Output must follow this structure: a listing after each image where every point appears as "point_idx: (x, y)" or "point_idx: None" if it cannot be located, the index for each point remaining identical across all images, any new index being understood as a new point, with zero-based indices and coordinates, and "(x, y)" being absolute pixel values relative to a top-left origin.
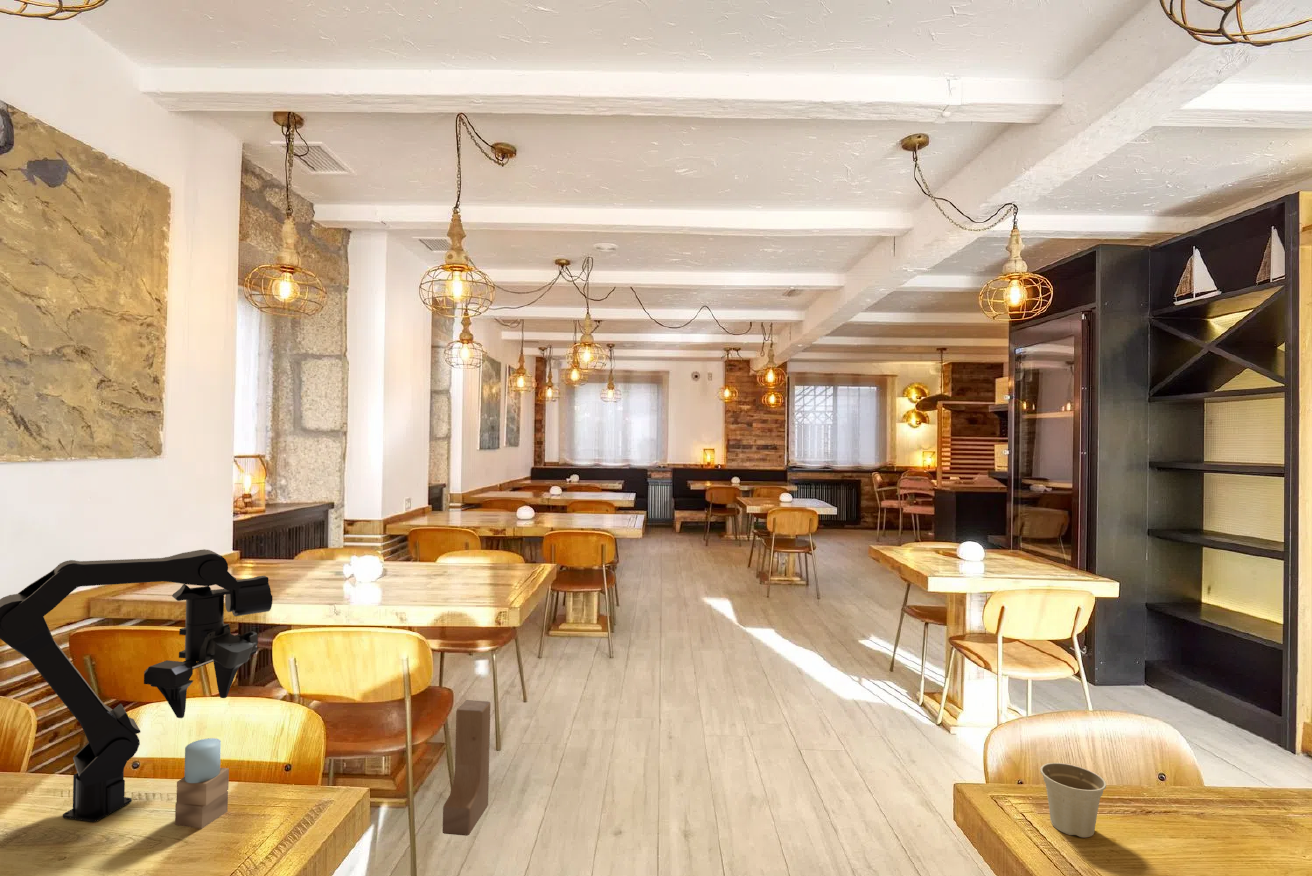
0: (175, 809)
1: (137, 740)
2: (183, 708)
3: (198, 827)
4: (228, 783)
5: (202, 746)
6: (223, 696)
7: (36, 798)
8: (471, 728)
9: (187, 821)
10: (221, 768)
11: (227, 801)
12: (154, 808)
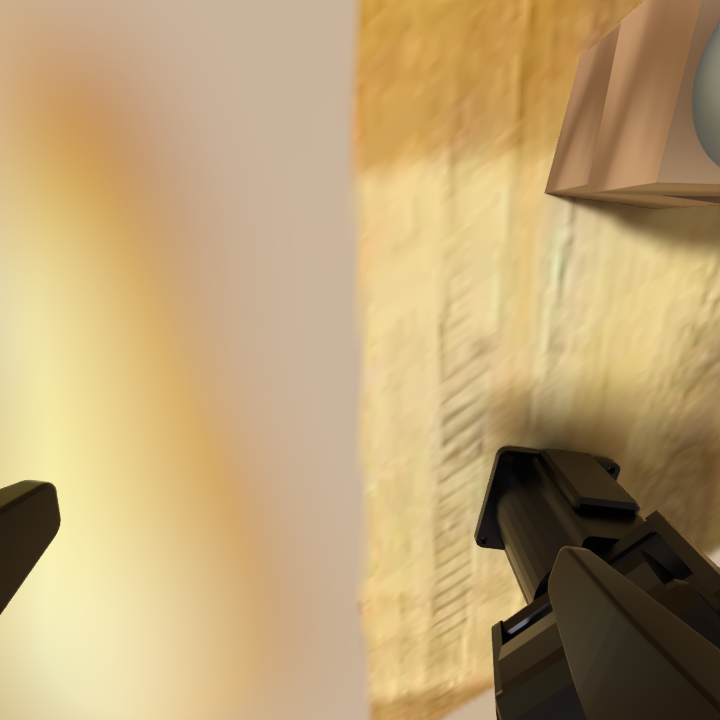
0: (701, 205)
1: (713, 613)
2: (670, 630)
3: None
4: (640, 4)
5: None
6: (43, 507)
7: (476, 658)
8: None
9: None
10: (705, 7)
11: (605, 38)
12: (540, 354)
